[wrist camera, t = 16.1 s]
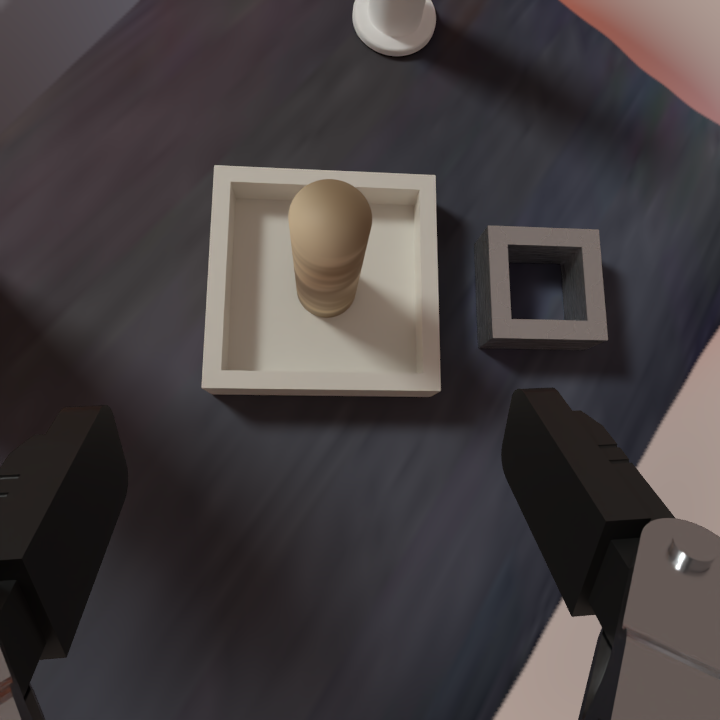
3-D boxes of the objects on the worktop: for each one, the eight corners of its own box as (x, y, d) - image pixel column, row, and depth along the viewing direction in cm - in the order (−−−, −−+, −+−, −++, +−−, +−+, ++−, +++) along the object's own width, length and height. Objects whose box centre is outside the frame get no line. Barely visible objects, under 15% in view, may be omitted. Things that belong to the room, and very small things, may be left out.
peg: (319, 328, 39) (320, 273, 28) (284, 281, 40) (271, 206, 28) (367, 296, 40) (388, 228, 28) (333, 250, 41) (340, 164, 29)
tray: (211, 394, 39) (201, 387, 36) (222, 189, 42) (214, 165, 38) (430, 397, 40) (440, 390, 37) (425, 197, 43) (435, 175, 40)
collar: (478, 348, 41) (492, 337, 38) (474, 244, 43) (487, 225, 39) (584, 350, 42) (608, 340, 38) (576, 248, 43) (598, 229, 40)
